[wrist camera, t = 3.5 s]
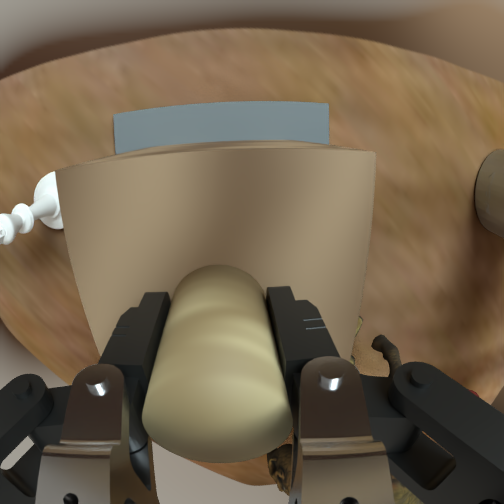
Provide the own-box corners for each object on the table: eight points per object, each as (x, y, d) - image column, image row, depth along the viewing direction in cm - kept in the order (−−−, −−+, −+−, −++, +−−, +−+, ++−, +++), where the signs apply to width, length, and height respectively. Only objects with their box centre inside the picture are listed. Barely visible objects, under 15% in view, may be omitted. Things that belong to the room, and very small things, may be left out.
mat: (327, 103, 21) (328, 103, 20) (320, 293, 27) (321, 295, 26) (115, 114, 20) (113, 114, 19) (139, 302, 26) (138, 304, 25)
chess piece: (76, 235, 23) (12, 291, 14) (33, 217, 22) (-38, 262, 13) (88, 180, 21) (15, 214, 12) (42, 164, 20) (-37, 189, 11)
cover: (291, 139, 21) (491, 181, 4) (289, 267, 25) (377, 481, 8) (151, 146, 21) (-57, 212, 3) (165, 274, 24) (95, 492, 7)
